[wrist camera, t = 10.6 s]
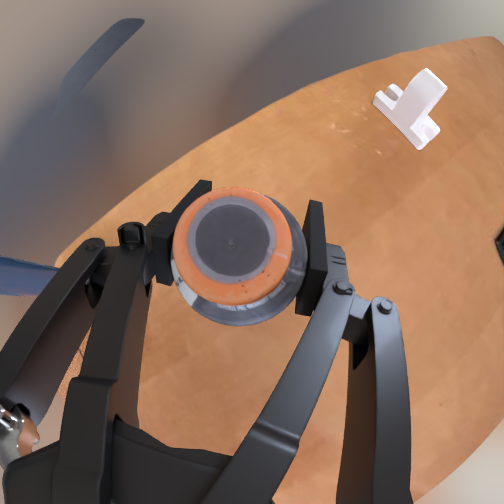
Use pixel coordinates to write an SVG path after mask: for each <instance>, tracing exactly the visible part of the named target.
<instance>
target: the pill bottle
mask: <svg viewBox="0 0 504 504" xmlns="http://www.w3.org/2000/svg"><path fill="white" fill-rule="evenodd" d="M307 262H308V253H307V246H306V241H305V237H304V234H303V232H302V230H301V228H300V226H299V224H298V222H297V221H296V219H295V218H294V216H293V215H292V214H291V213H290V212H289V211H288V210H287V209H286V208H285V207H284V206H283V205H281V204H280V203H279V202H277V201H276V200H274V199H272V198H270V197H268V196H266V195H263V194H261V193H258V192H256V191H253V190H250V189H246V188H241V187H229V188H226V187H225V188H220V189H216V190H213V191H210V192H208V193H206V194H204V195H202V196H201V197H199V198H198V199H196V200H195V201H194V202H193V203H192V204H191V205H190V206H189V207H188V208H187V209H186V210H185V211H184V213H183V214H182V216H181V218H180V220H179V222H178V224H177V226H176V229H175V232H174V238H173V244H172V249H171V267H172V273H173V277H174V280H175V282H176V285H177V287H178V289H179V291H180V293H181V295H182V296H183V298H184V299H185V300H186V301H187V302H188V304H189V305H190V306H191V307H192V308H193V309H194V310H195V311H196V312H198V313H199V314H201V315H203V316H204V317H206V318H208V319H210V320H212V321H214V322H217V323H220V324H224V325H230V326H247V325H253V324H258V323H261V322H263V321H266V320H268V319H270V318H273V317H274V316H276V315H277V314H279V313H280V312H281V311H283V310H284V309H285V308H286V307H287V306H288V305H289V304H290V303H291V302H292V301H293V299H294V298H295V296H296V295H297V293H298V292H299V290H300V288H301V286H302V284H303V281H304V279H305V274H306V270H307Z"/></svg>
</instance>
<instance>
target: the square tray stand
mask: <svg viewBox="0 0 504 504" xmlns="http://www.w3.org/2000/svg"><path fill="white" fill-rule="evenodd" d="M59 269H60V268H57V267H52V266H47V265H42V264H38V263H33V262H28V261H24V260H19V259H15V258H10V257H6V256H2V255H0V295H11V296H24V297H38V295H39V294H40V293H41V292H42V290H43V289H44V288H45V286H46V285H47V284H48V283H49V281H50V280H51V279H52V278H53V276H54V275H55V274H56V273H57V271H58V270H59ZM88 281H89V280H88V279H87V281H86V283H87V282H88ZM86 283H85V284H86Z"/></svg>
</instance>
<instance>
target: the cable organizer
mask: <svg viewBox="0 0 504 504" xmlns="http://www.w3.org/2000/svg"><path fill="white" fill-rule="evenodd" d="M446 90H447V86H446V85H445V84H444V83H443V82H442V81H441V80H439V79H438V78H437V77H436V76H435V75H434V74H433V73H432V72H431V71H430V70H429V69H428V68H425V69H423V70H422V71H420V72H419V73H418V74H417V75H416V76H415V77H414V78H413V79H412V80H411V82H410V83H409V84H408V86H407V87H406V89H405V91H404V92H403V91H402V90H401V89H400V88H399V87H398V86H396V85H394V84H392V85H390V86H388V88H387V90H386V91H385V93H383V92H382V91H379V92H377V93H376V95H375V97H374V99H373V101H372V103H373V105H374V106H376V107H377V108H378V109H379V110H380V111H381V112H382V113H383V114H384V115H385V116H386V117H387V118H388V119H389V120H390V121H391V122H392V123H393V124H394V125H395V126H396V127H397V128H398V129H399V130H400V131H401V132H402V133H403V134H404V135H405V137H406V138H407V139H408V140H409V141H410V142H411V143H412V144H413V145H414V146H415V148H416V149H418V150H421V149H422V148H423V147H425V145H426V144H427V143H428V142H429V141H431V140H432V139H433V138H434V137H435V136H436V135H437V134H438V133H439V132H440V128H439V127H438V126H437V125H436V123H435V122H434V121H433V120H432V119H431V118H430V117H429V116H428V113H429V112H430V111H431V110H432V108H433V107H434V106H435V104H436V103H437V102H438V101H439V99H440V98H441V97H442V95H443V94H444V93H445V91H446Z"/></svg>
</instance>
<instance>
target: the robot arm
mask: <svg viewBox="0 0 504 504" xmlns="http://www.w3.org/2000/svg"><path fill="white" fill-rule="evenodd" d="M211 190H212V181H207V180H199V182H198V183H197V184H196V185H195V186H194V187H193V188H192V189H191V190H190V191H189V192H188V194H187V195H186V196H185V197H184V198H183V199H182V200H181V201H180V202H179V204H178V205H177V206H176V207H175V208H174V209H173V210H172V212H171V213H167V212H161V213H159V214H157V215H155V216H154V217H153V218H152V220H151V221H150V222H149V223H148V224H147V226H144V225H143V224H142V223H139V222H128V223H125V224H123V225H121V226H120V227H119V228H118V229H117V230H118V237H119V243H120V245H119V246H117V247H106V246H105V242H104V240H103V239H101V238H90V239H88V240H85V241H84V242H83V243H82V244H81V245H80V246H79V247H78V248H77V249H76V250H75V251H74V253H73V254H72V255H71V256H70V257H69V258H68V259H67V261H66V262H65V263H64V264H63V265H62V267H61V268H60V269H59V270H58V271H57V273H56V274H55V275H54V276H53V278H52V279H51V280H50V281H49V283H48V284H47V285H46V286H45V288H44V289H43V290H42V292H41V293H40V294H39V295H38V297H37V298H36V299H35V301H34V302H33V304H32V305H31V306H30V308H29V309H28V310H27V312H26V313H25V315H24V316H23V318H22V319H21V321H20V322H19V323H18V325H17V326H16V328H15V330H14V331H13V333H12V334H11V336H10V337H9V339H8V340H7V342H6V343H5V345H4V347H3V348H2V350H1V352H0V465H1V466H2V468H3V469H4V473H3V478H2V486H3V493H4V500H5V504H275V503H274V501H273V500H272V497H273V496H274V494H275V492H276V490H277V489H278V487H279V485H280V483H281V481H282V480H283V478H284V476H285V474H286V472H287V470H288V469H289V467H290V465H291V463H292V461H293V459H294V457H295V455H296V453H297V450H298V447H299V441H300V438H301V436H302V434H303V432H304V430H305V428H306V425H307V423H308V421H309V419H310V417H311V414H312V412H313V410H314V408H315V405H316V403H317V401H318V398H319V396H320V393H321V391H322V389H323V386H324V384H325V381H326V379H327V376H328V373H329V371H330V368H331V366H332V363H333V360H334V358H335V355H336V352H337V349H338V346H339V344H340V341H341V338H342V339H344V340H346V341H349V366H348V390H347V406H346V419H345V430H344V440H343V449H342V457H341V465H340V472H339V478H338V485H337V493H336V504H413V500H412V496H411V493H410V473H411V416H410V399H409V386H408V376H407V367H406V358H405V351H404V344H403V337H402V331H401V325H400V319H399V313H398V309H397V307H396V305H395V304H394V303H393V302H392V301H391V300H389V299H387V298H385V297H375V298H374V299H373V300H372V301H371V302H370V301H368V300H365V299H363V298H361V297H359V296H358V295H356V294H355V289H354V287H353V286H352V285H351V284H350V283H349V279H348V272H347V265H346V260H345V253H344V251H343V250H342V248H341V247H340V246H338V245H333V244H329V243H326V237H325V226H324V216H323V206H322V202H318V201H314V200H310V201H309V205H308V209H307V213H306V217H305V221H304V225H303V229H302V232H303V234H304V237H305V241H306V246H307V253H308V262H307V270H306V274H305V279H304V281H303V284H302V286H301V288H300V290H299V292H298V293H297V295H296V305H295V314H300V315H305V316H310V317H311V314H312V312H313V309H314V313H313V315H312V317H311V319H310V321H309V323H308V325H307V327H306V329H305V331H304V333H303V335H302V337H301V339H300V341H299V343H298V345H297V347H296V349H295V351H294V353H293V355H292V357H291V359H290V361H289V363H288V365H287V367H286V368H285V370H284V372H283V374H282V376H281V378H280V380H279V381H278V383H277V385H276V387H275V389H274V391H273V392H272V394H271V396H270V398H269V399H268V401H267V403H266V405H265V406H264V408H263V410H262V412H261V413H260V415H259V417H258V418H257V420H256V422H255V423H254V424H253V426H252V427H251V429H250V430H249V432H248V433H247V435H246V437H245V438H244V440H243V441H242V443H241V445H240V446H239V448H238V449H237V451H236V452H235V454H234V455H233V456H229V455H224V454H220V453H215V452H211V451H207V450H203V449H183V448H171V447H168V446H166V445H165V444H163V443H161V442H160V441H158V440H157V439H155V438H154V437H152V436H151V435H149V434H148V433H146V432H145V431H143V430H141V429H139V420H138V416H137V403H138V390H139V379H140V370H141V360H142V352H143V344H144V337H145V330H146V323H147V316H148V310H149V304H150V298H151V292H152V278H153V277H154V275H155V274H156V282H157V283H161V284H165V285H168V286H171V285H172V283H173V281H174V277H173V273H172V267H171V249H172V244H173V238H174V232H175V229H176V226H177V224H178V222H179V220H180V218H181V216H182V214H183V213H184V211H185V210H186V209H187V208H188V207H189V206H190V205H191V204H192V203H193V202H194V201H195V200H196V199H198V198H199V197H201V196H202V195H204V194H206V193H208V192H210V191H211ZM87 279H88V280H89V281H88V282H87V283H86V281H87ZM85 283H86V284H85ZM92 323H93V324H92ZM91 325H92V327H91ZM90 327H91V331H90V334H89V338H88V342H87V345H86V349H85V353H84V357H83V362H82V366H81V370H80V374H79V376H78V377H74V378H72V379H71V381H70V383H69V386H68V391H67V396H66V401H65V406H64V412H63V418H62V425H61V431H60V439H59V440H58V441H56V442H54V443H52V444H50V445H48V446H46V447H43V448H41V449H39V450H36V451H34V452H32V445H33V444H37V443H38V442H39V440H40V436H39V433H38V432H37V428H36V427H37V426H38V425H39V424H40V422H41V421H42V419H43V418H44V416H45V414H46V413H47V411H48V409H49V407H50V405H51V403H52V400H53V398H54V396H55V394H56V392H57V390H58V388H59V386H60V384H61V381H62V379H63V377H64V375H65V373H66V371H67V369H68V367H69V365H70V364H71V362H72V360H73V358H74V356H75V354H76V352H77V350H78V348H79V347H80V345H81V343H82V341H83V339H84V338H85V336H86V334H87V332H88V330H89V329H90Z"/></svg>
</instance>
